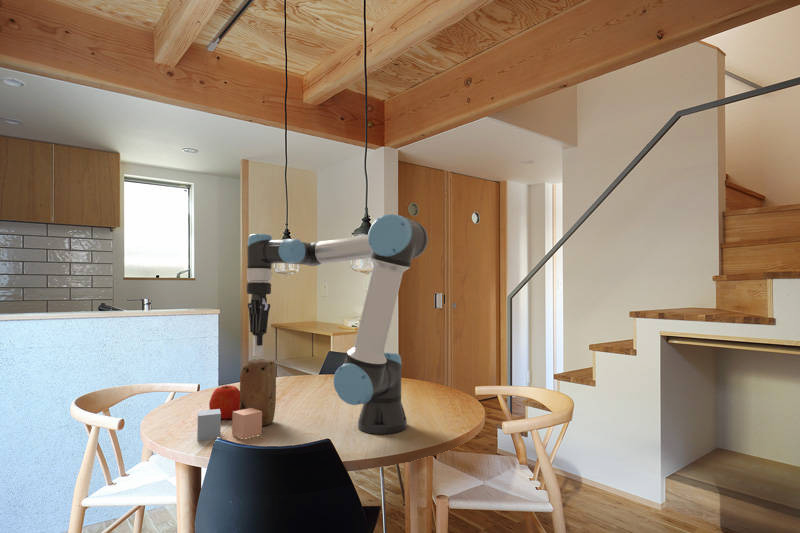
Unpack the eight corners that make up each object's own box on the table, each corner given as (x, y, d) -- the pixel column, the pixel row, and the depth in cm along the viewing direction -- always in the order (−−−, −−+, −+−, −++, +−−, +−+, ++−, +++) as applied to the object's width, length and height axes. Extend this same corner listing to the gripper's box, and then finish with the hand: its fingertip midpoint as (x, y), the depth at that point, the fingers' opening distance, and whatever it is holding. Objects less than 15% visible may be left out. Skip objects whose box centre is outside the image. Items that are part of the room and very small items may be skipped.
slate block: (220, 438, 134) (220, 413, 134) (197, 441, 132) (198, 415, 132) (219, 432, 140) (219, 408, 140) (197, 435, 137) (197, 410, 137)
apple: (209, 414, 160) (209, 383, 160) (242, 411, 163) (243, 380, 164) (208, 422, 150) (209, 389, 150) (243, 419, 153) (244, 386, 154)
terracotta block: (261, 435, 137) (262, 411, 137) (242, 440, 132) (243, 415, 133) (250, 431, 141) (250, 407, 141) (232, 436, 136) (232, 411, 137)
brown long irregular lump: (277, 420, 152) (278, 358, 153) (270, 427, 145) (270, 362, 146) (244, 420, 153) (245, 358, 154) (235, 426, 145) (236, 361, 146)
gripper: (278, 282, 148) (277, 356, 147) (262, 282, 158) (261, 352, 157) (255, 281, 144) (254, 359, 142) (240, 282, 154) (238, 354, 153)
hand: (257, 355), depth 150 cm, fingers closed
